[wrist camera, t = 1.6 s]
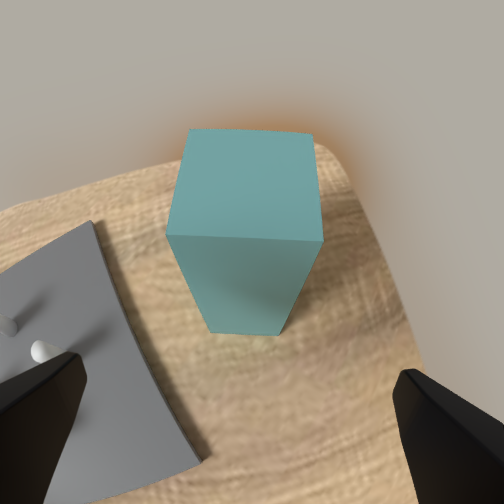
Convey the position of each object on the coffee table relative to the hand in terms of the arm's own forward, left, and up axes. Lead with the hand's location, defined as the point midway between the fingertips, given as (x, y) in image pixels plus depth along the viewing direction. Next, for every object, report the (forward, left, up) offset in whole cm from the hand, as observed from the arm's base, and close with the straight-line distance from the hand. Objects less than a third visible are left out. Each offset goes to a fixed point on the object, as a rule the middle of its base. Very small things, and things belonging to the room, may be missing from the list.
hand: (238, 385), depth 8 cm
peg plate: (+6, +15, -12) cm, 20 cm away
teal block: (+6, -3, -12) cm, 14 cm away
